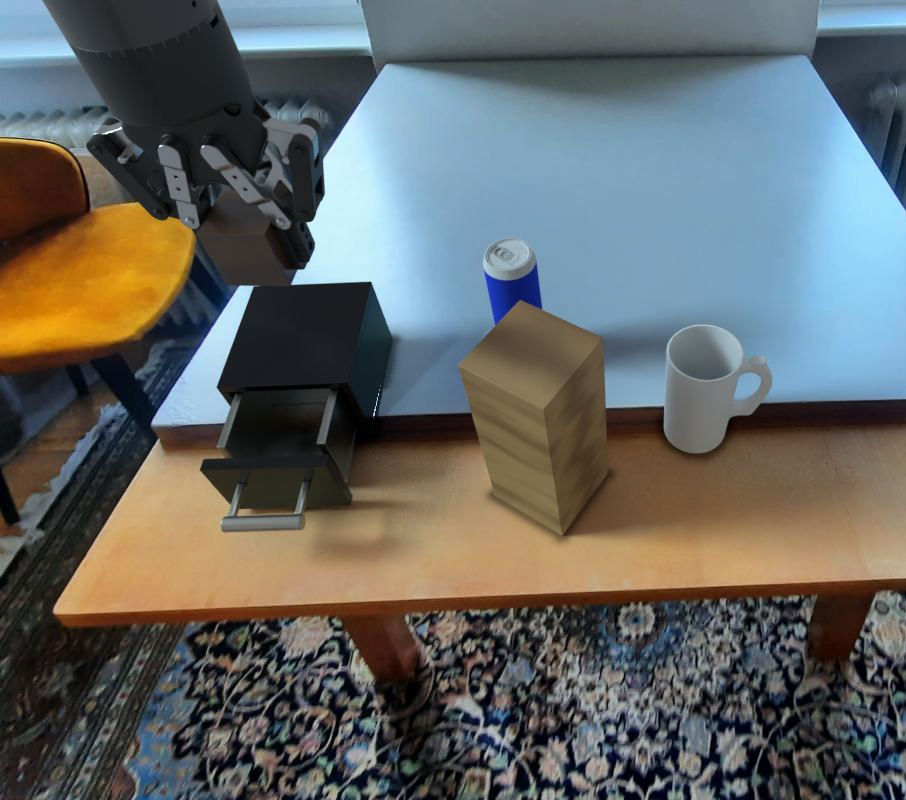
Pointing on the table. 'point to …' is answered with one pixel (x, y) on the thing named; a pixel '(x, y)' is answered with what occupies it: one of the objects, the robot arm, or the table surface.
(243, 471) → the drawer
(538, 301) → the beverage can
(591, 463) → the stand
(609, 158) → the table surface
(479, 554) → the table surface
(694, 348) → the mug
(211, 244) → the block
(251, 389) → the black drawer cabinet
